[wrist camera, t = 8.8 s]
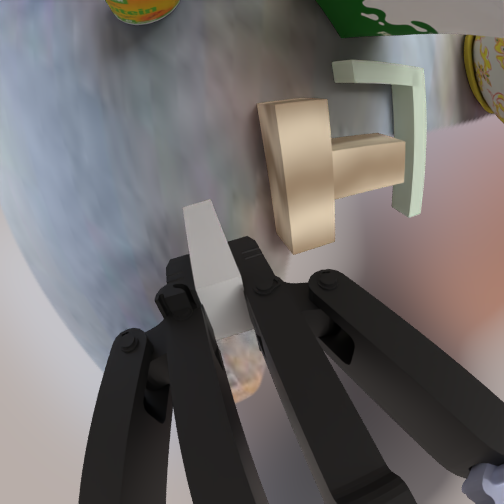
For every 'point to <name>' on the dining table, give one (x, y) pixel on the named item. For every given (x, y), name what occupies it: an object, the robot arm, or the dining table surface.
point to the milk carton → (415, 17)
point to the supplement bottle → (141, 10)
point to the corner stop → (398, 120)
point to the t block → (319, 168)
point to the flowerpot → (486, 71)
